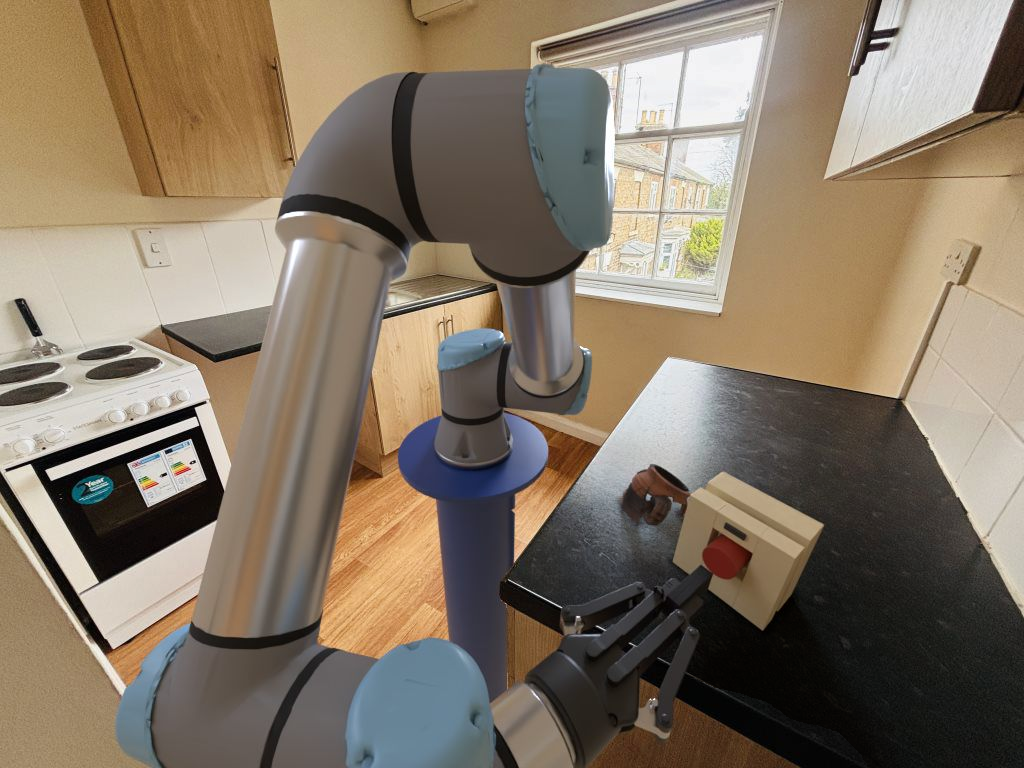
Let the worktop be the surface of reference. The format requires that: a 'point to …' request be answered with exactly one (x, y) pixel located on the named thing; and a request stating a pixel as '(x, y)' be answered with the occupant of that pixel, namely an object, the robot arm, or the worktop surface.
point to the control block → (748, 544)
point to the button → (725, 557)
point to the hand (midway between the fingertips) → (704, 577)
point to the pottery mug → (653, 495)
